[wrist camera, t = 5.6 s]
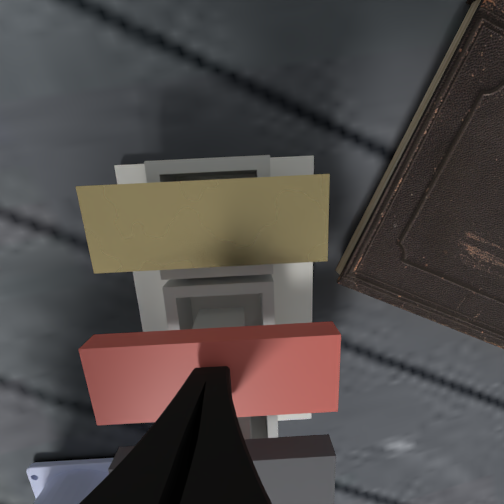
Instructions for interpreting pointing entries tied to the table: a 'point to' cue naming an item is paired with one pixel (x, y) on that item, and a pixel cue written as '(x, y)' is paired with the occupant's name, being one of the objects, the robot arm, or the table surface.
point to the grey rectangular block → (285, 466)
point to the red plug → (212, 355)
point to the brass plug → (206, 223)
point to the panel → (224, 278)
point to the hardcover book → (444, 195)
